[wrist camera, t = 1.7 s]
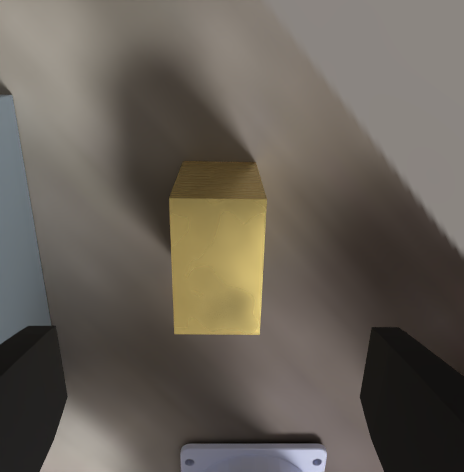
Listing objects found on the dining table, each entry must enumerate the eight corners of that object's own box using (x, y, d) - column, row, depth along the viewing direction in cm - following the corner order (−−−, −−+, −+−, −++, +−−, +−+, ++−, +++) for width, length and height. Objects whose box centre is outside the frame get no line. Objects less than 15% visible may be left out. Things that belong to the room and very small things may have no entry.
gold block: (251, 269, 20) (259, 334, 15) (185, 268, 20) (174, 334, 15) (255, 161, 18) (266, 199, 13) (183, 160, 18) (169, 198, 13)
